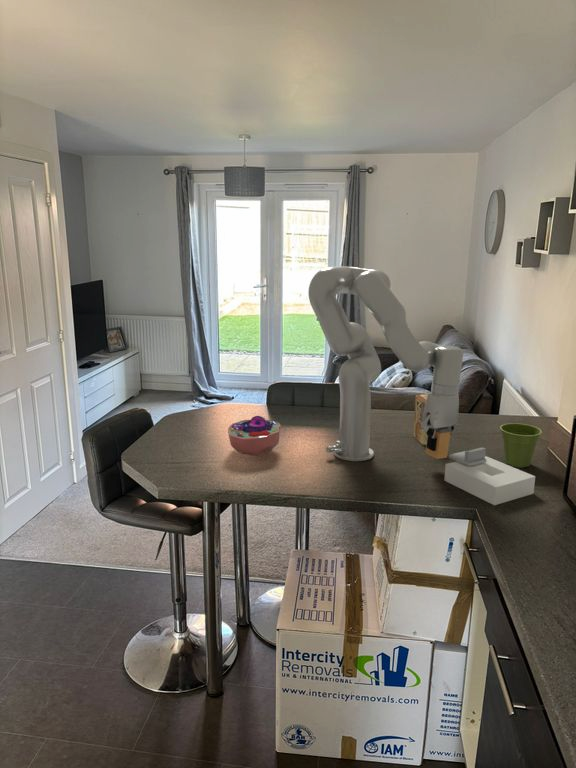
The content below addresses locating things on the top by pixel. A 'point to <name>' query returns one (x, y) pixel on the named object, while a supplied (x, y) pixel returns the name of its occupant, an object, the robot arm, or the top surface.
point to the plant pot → (519, 443)
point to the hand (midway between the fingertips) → (436, 447)
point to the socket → (490, 480)
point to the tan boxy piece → (440, 444)
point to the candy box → (419, 419)
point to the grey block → (470, 456)
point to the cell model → (254, 435)
